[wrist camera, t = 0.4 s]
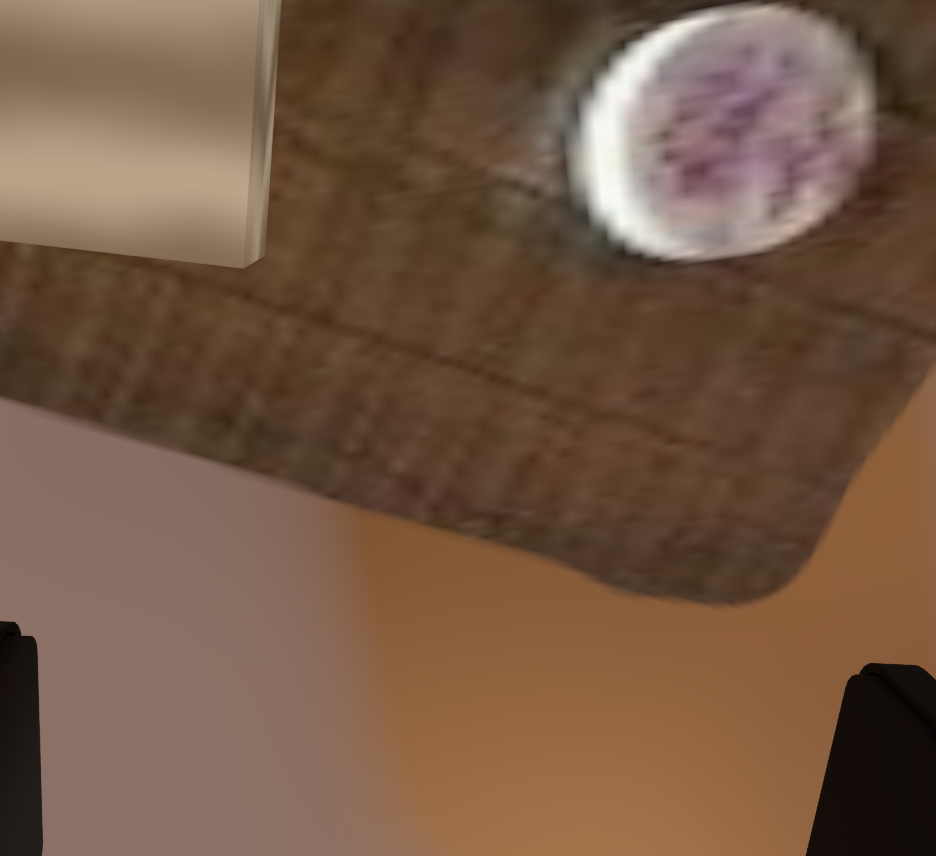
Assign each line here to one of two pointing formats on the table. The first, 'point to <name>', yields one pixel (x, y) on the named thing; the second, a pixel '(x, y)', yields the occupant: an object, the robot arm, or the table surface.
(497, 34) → the table surface
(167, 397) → the table surface
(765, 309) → the table surface
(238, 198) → the maple block
